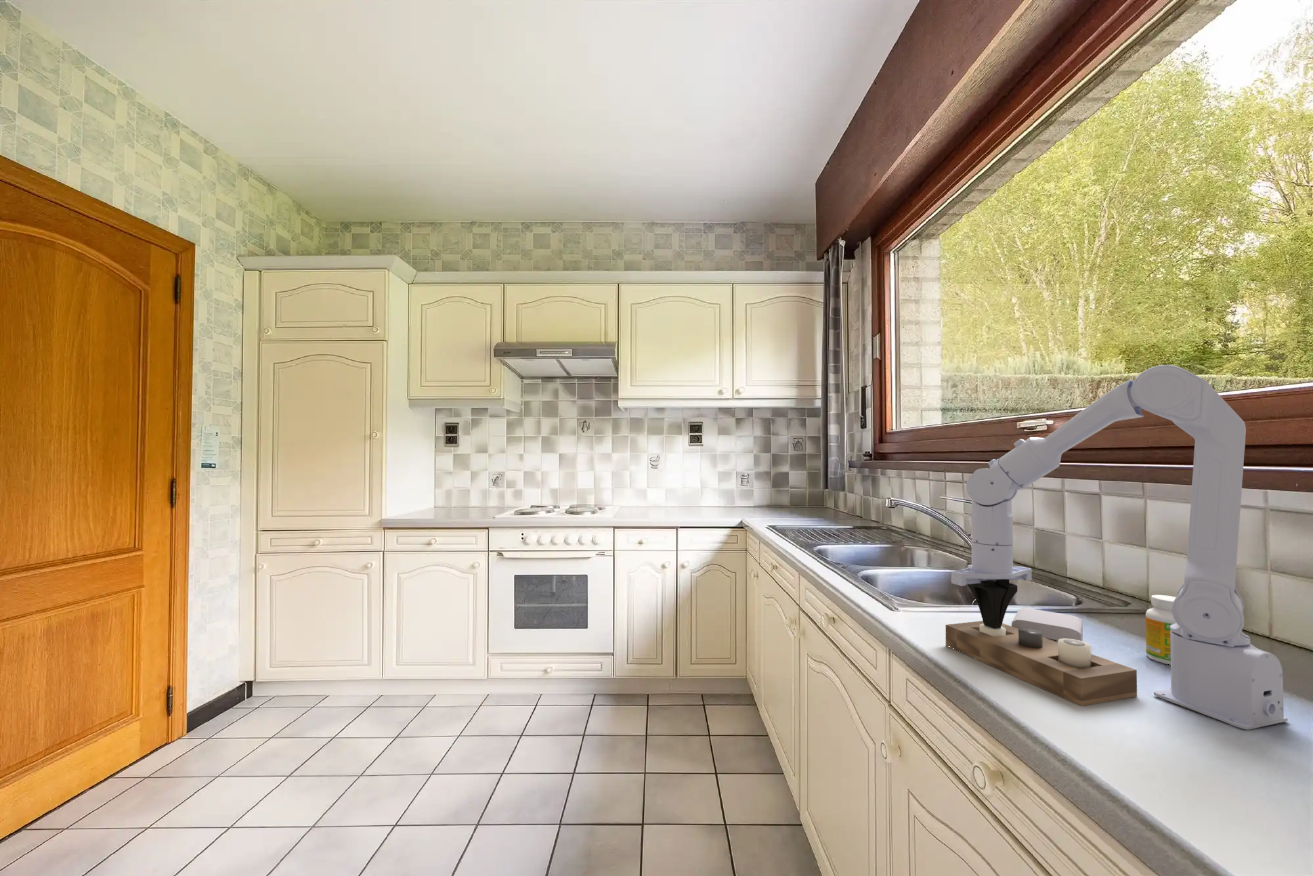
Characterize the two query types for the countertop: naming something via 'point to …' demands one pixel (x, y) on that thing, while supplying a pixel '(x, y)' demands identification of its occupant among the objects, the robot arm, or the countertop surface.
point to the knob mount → (1044, 665)
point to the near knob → (1074, 653)
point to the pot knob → (1030, 638)
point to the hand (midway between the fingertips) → (992, 626)
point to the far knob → (992, 630)
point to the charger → (1050, 624)
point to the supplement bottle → (1159, 628)
